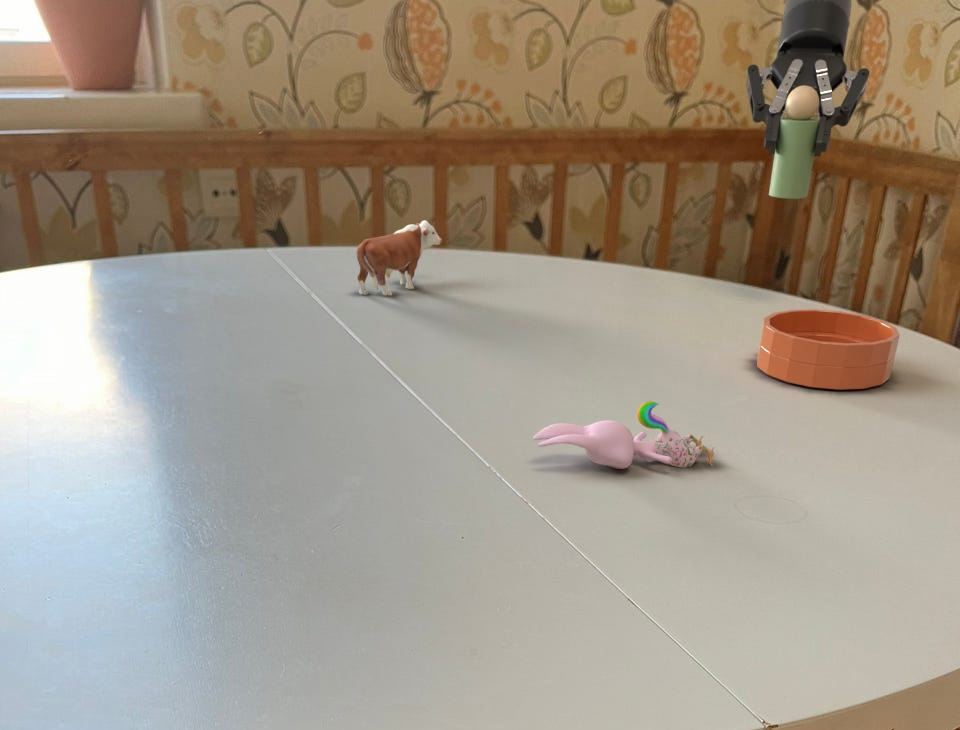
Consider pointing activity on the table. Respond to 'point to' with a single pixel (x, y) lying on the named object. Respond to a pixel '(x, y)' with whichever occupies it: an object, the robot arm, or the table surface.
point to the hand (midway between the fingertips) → (795, 149)
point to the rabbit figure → (627, 441)
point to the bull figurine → (394, 255)
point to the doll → (795, 145)
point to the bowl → (827, 349)
